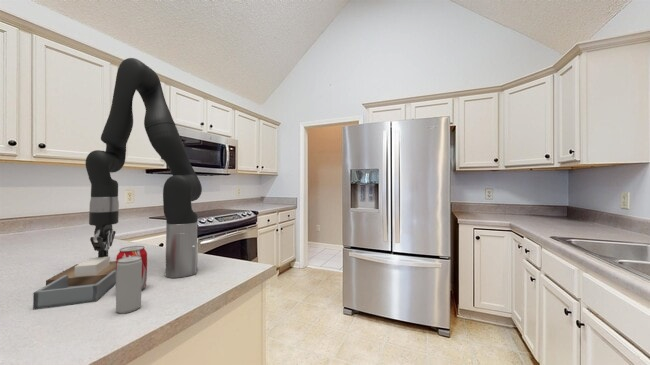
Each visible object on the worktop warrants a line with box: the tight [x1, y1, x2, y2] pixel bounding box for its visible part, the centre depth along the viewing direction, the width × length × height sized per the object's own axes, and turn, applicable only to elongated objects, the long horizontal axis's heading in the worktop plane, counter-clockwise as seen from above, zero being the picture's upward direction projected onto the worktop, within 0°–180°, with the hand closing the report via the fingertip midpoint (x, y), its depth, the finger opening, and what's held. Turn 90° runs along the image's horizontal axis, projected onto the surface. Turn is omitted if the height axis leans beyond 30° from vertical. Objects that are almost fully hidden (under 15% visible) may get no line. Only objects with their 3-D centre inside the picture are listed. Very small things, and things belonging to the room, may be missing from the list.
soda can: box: [115, 245, 148, 291], centre depth 72 cm, size 7×7×12 cm
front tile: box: [74, 260, 104, 277], centre depth 78 cm, size 5×5×3 cm
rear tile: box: [83, 255, 111, 270], centre depth 82 cm, size 5×5×3 cm
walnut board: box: [45, 260, 116, 287], centre depth 82 cm, size 16×16×3 cm
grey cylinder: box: [115, 256, 142, 314], centre depth 61 cm, size 5×5×12 cm
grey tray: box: [32, 270, 116, 310], centre depth 69 cm, size 12×13×4 cm
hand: (103, 261), depth 86 cm, fingers closed
